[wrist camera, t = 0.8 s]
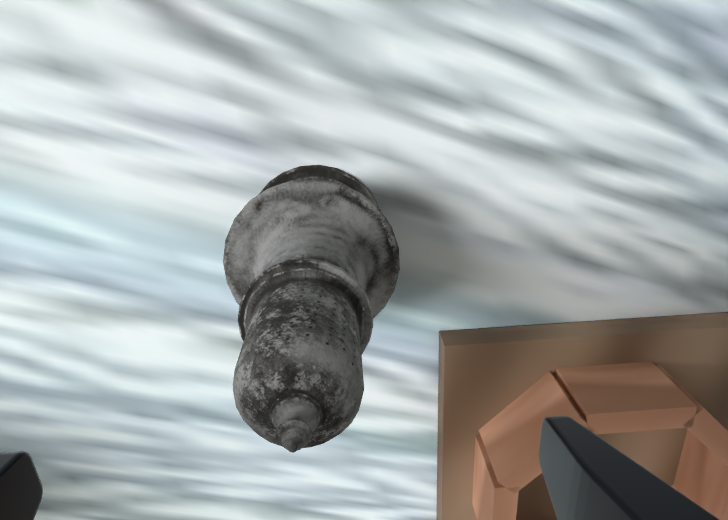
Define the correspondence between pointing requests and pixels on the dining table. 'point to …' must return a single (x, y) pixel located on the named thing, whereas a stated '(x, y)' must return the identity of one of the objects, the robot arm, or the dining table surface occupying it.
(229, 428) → the dining table surface
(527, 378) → the collar board
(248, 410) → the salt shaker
